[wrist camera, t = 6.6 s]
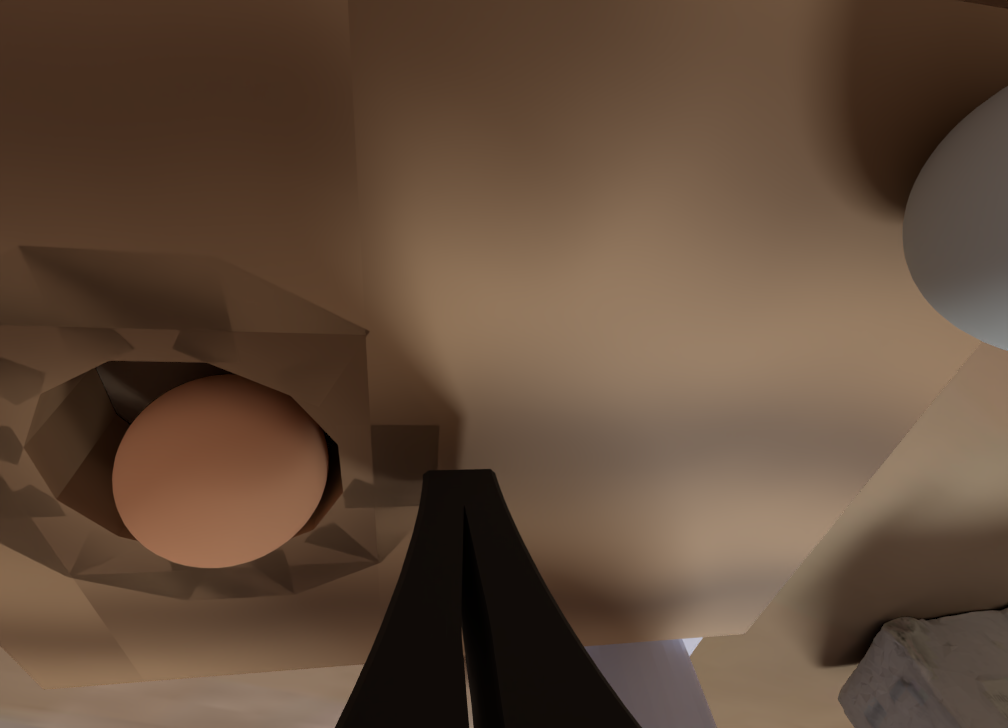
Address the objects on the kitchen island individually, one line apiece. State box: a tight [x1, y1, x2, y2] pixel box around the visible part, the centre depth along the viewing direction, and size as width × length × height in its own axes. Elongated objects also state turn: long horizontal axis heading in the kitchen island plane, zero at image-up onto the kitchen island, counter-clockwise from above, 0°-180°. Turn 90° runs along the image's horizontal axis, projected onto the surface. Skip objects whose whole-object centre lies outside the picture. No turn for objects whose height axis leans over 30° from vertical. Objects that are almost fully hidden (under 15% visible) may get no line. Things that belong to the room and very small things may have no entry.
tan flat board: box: [0, 0, 1008, 690], centre depth 12 cm, size 18×22×2 cm
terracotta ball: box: [112, 374, 329, 568], centre depth 11 cm, size 4×4×4 cm
